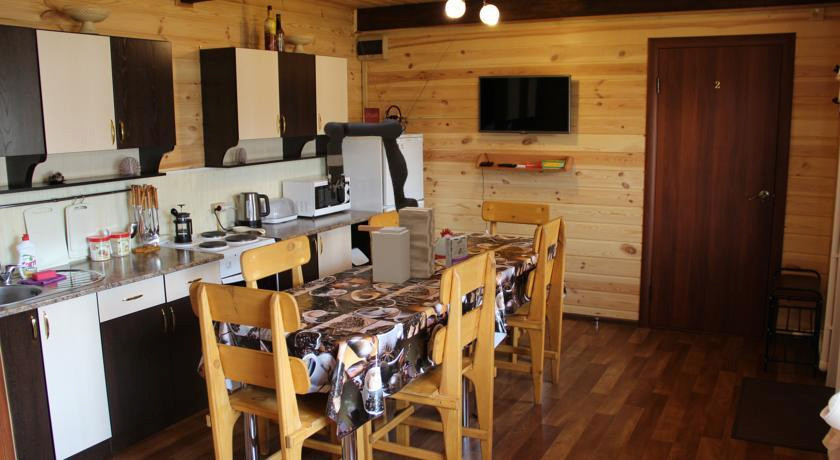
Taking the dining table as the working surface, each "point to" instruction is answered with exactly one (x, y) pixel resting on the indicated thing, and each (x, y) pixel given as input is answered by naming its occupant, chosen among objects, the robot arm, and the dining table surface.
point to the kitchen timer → (442, 244)
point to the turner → (382, 229)
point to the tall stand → (420, 239)
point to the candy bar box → (456, 250)
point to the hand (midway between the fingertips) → (337, 198)
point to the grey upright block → (391, 257)
